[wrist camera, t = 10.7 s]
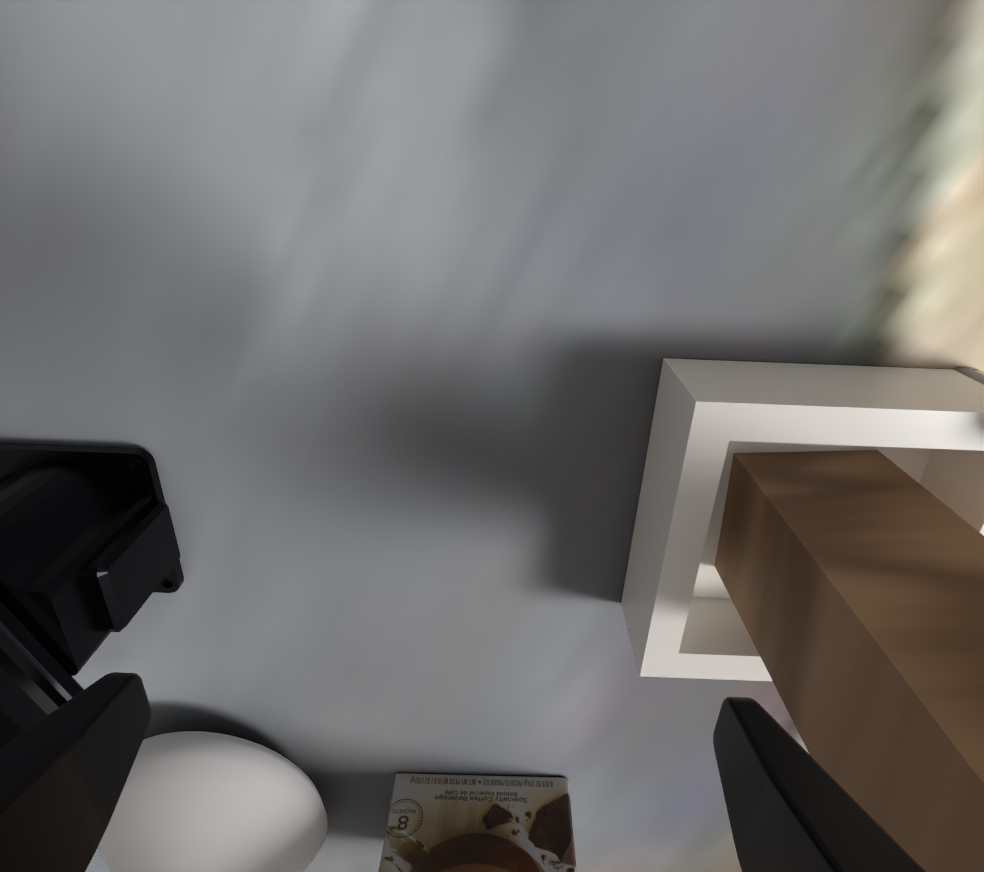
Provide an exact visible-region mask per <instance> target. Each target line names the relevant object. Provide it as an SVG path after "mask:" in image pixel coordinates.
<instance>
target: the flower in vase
mask: <svg viewBox="0 0 984 872" xmlns="http://www.w3.org/2000/svg"><path fill="white" fill-rule="evenodd" d="M327 828H328V821H327V815H326V811H325V808H324V805H323V802H322V799H321V797H320V794H319V792H318V790H317V789H316V787H315V785H314V784H313V782H312V781H311V780H310V779H309V777H308V776H307V775H306V774H305V773H304V772H303V771H302V770H301V769H300V768H299V767H297V766H296V765H295V764H293V763H292V762H291V761H289V760H288V759H287V758H285V757H283V756H282V755H280V754H278V753H277V752H275V751H273V750H271V749H269V748H267V747H264V746H262V745H260V744H257V743H254V742H252V741H249V740H245V739H242V738H238V737H235V736H230V735H225V734H220V733H212V732H204V731H183V732H172V733H166V734H160V735H156V736H153V737H149V738H147V739H144V740H143V741H142V744H141V746H140V749H139V751H138V754H137V756H136V759H135V761H134V764H133V766H132V768H131V771H130V773H129V776H128V778H127V781H126V783H125V786H124V788H123V791H122V793H121V795H120V798H119V800H118V803H117V805H116V808H115V810H114V813H113V815H112V817H111V820H110V822H109V824H108V826H107V829H106V831H105V833H104V835H103V837H102V839H101V841H100V843H99V845H98V846H99V848H100V850H101V852H102V855H103V857H104V859H105V861H106V863H107V865H108V867H109V870H110V872H303V871H304V870H305V869H306V868H307V867H308V865H309V864H310V863H311V862H312V860H313V859H314V857H315V856H316V854H317V853H318V851H319V850H320V848H321V846H322V844H323V842H324V841H325V838H326V834H327Z"/></svg>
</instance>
